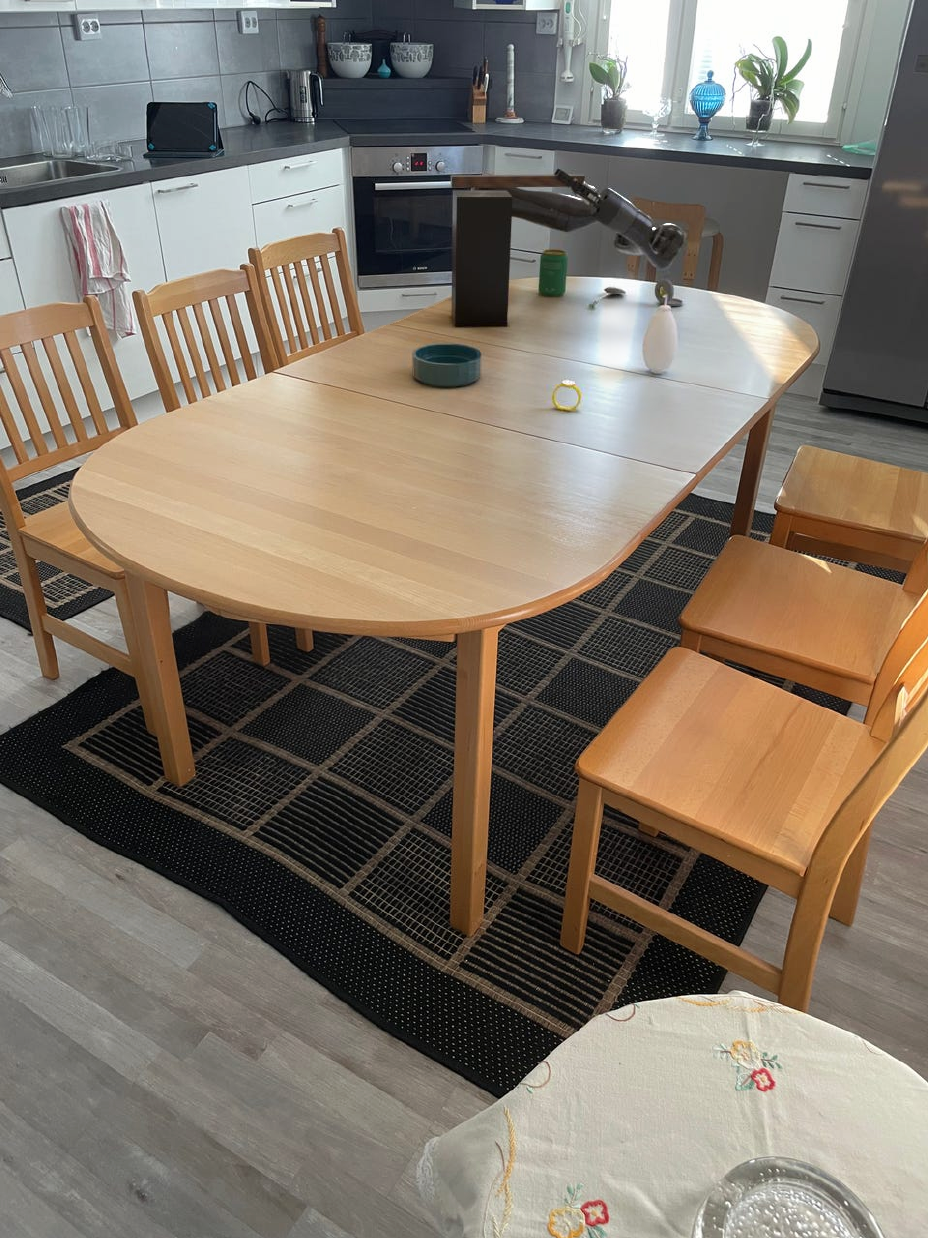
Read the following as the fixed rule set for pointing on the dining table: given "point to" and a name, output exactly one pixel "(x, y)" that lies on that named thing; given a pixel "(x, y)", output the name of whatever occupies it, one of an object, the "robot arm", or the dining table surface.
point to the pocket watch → (666, 289)
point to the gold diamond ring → (568, 385)
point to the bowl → (446, 365)
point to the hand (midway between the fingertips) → (557, 172)
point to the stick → (509, 181)
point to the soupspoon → (609, 291)
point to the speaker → (481, 257)
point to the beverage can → (553, 273)
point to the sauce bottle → (660, 340)
